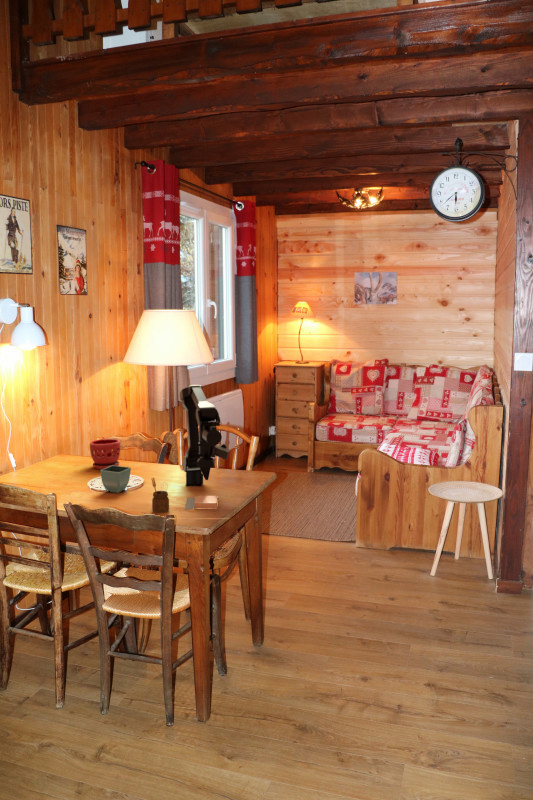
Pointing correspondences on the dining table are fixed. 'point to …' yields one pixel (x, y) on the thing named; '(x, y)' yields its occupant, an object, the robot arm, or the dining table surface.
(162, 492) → the utensil holder
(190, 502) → the slate mat
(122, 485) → the flower pot
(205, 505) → the block
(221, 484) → the dining table surface
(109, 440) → the plant pot
